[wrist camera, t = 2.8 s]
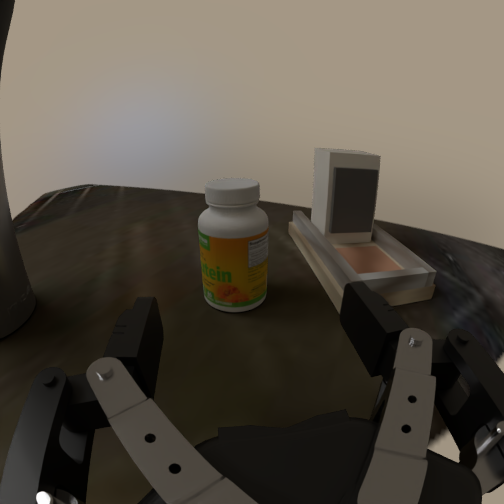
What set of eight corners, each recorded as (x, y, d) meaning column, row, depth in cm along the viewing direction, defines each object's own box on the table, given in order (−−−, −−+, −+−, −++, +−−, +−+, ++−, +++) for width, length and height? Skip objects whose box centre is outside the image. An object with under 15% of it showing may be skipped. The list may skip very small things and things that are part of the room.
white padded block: (325, 246, 30) (332, 152, 26) (310, 229, 35) (314, 147, 31) (372, 244, 31) (383, 156, 27) (353, 228, 36) (360, 150, 32)
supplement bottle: (191, 298, 24) (180, 185, 20) (232, 274, 28) (229, 174, 24) (239, 323, 21) (235, 194, 17) (278, 292, 25) (283, 181, 21)
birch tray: (339, 314, 22) (345, 282, 21) (288, 232, 38) (289, 211, 37) (431, 298, 23) (440, 271, 22) (355, 230, 39) (358, 210, 38)
